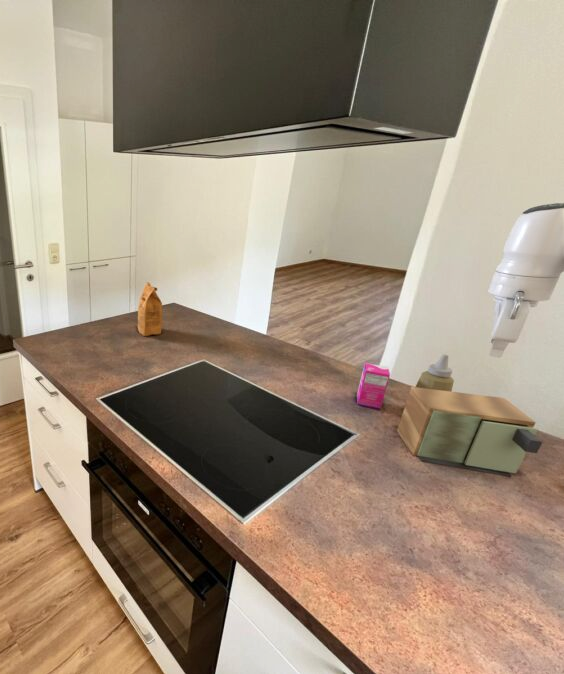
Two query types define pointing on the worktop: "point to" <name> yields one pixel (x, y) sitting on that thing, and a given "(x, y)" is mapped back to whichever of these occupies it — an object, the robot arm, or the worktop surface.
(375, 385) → the supplement box
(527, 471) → the worktop surface
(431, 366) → the squeeze bottle
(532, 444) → the sliding door
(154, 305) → the coffee package
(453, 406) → the cabinet
